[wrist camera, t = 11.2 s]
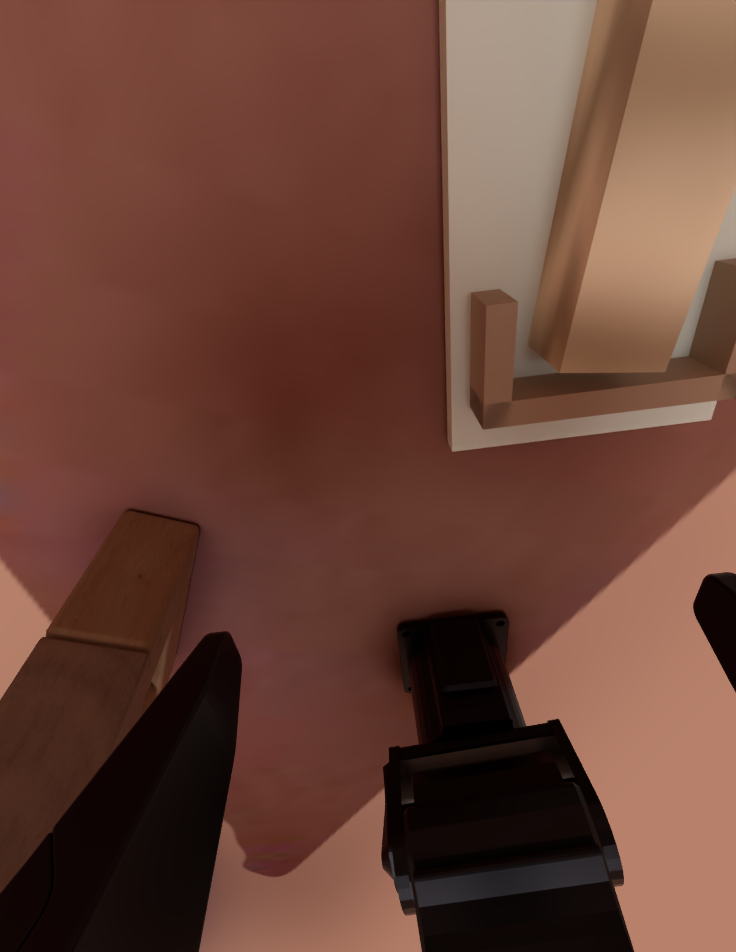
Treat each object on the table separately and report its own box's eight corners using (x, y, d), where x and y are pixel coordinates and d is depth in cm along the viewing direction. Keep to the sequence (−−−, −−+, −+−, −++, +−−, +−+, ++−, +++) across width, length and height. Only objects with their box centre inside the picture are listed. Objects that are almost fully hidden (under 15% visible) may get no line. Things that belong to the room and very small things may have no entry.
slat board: (695, 409, 20) (746, 442, 18) (447, 440, 20) (462, 477, 18) (1041, -715, 8) (1355, -1115, 6) (426, -610, 8) (463, -953, 6)
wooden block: (203, 523, 22) (-87, 1246, 7) (177, 656, 28) (-20, 1228, 13) (122, 505, 21) (-394, 1278, 6) (112, 645, 27) (-181, 1244, 12)
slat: (617, 344, 17) (665, 372, 15) (527, 344, 17) (559, 373, 15) (822, -313, 10) (992, -486, 7) (663, -324, 10) (779, -507, 7)
